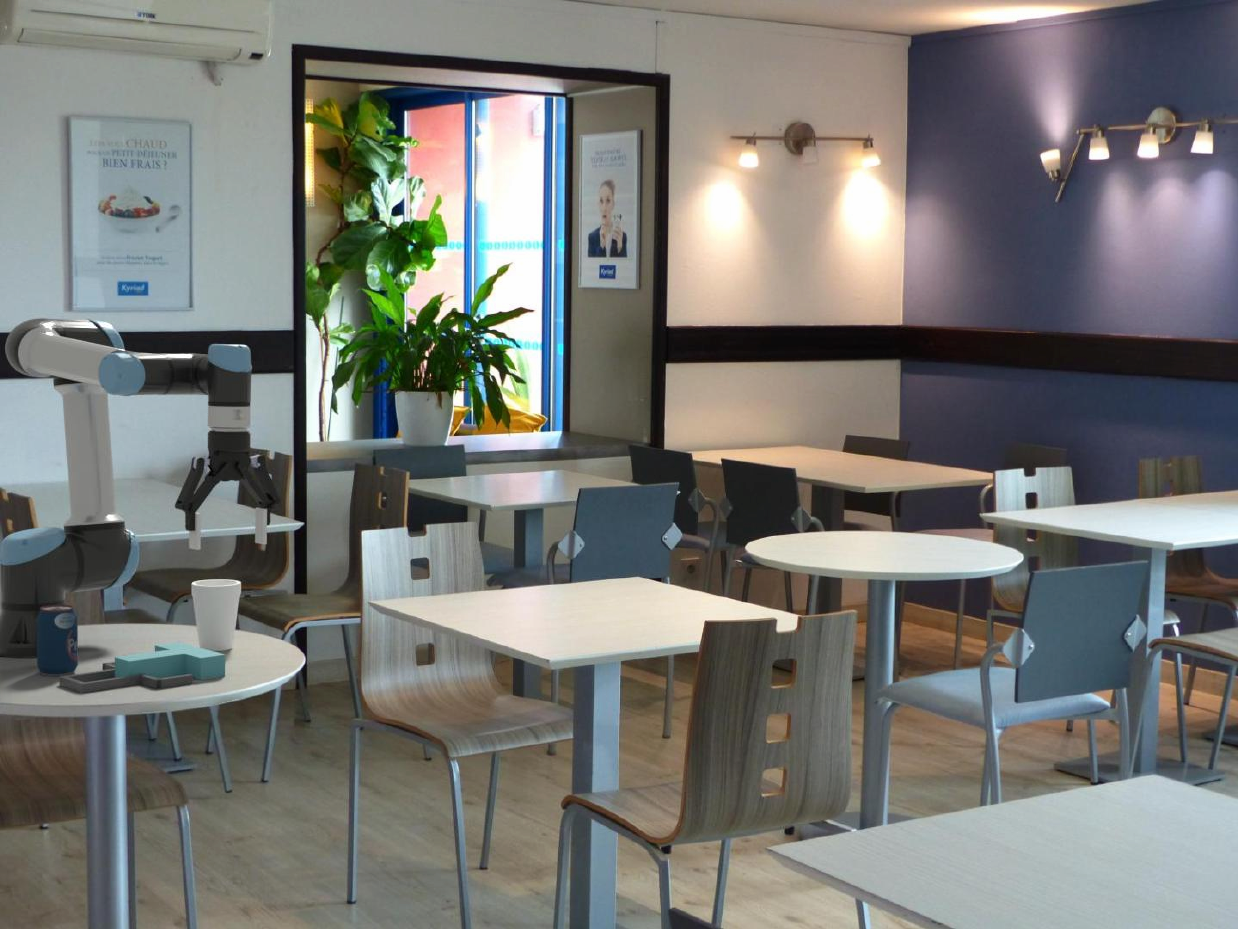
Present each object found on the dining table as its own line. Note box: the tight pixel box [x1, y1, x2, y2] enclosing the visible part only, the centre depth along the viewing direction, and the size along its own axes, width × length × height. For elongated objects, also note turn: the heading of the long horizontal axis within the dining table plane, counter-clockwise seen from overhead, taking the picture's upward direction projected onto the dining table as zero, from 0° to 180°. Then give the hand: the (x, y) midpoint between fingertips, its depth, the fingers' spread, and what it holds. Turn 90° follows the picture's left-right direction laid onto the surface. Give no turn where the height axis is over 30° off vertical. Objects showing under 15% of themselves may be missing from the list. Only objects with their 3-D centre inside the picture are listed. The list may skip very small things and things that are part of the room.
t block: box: [114, 641, 226, 681], centre depth 279 cm, size 16×16×4 cm
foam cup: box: [191, 578, 242, 652], centre depth 305 cm, size 10×9×13 cm
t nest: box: [58, 661, 194, 694], centre depth 273 cm, size 18×19×2 cm
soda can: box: [36, 604, 79, 677], centre depth 279 cm, size 7×7×12 cm
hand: (228, 546), depth 280 cm, fingers open, 13 cm apart
